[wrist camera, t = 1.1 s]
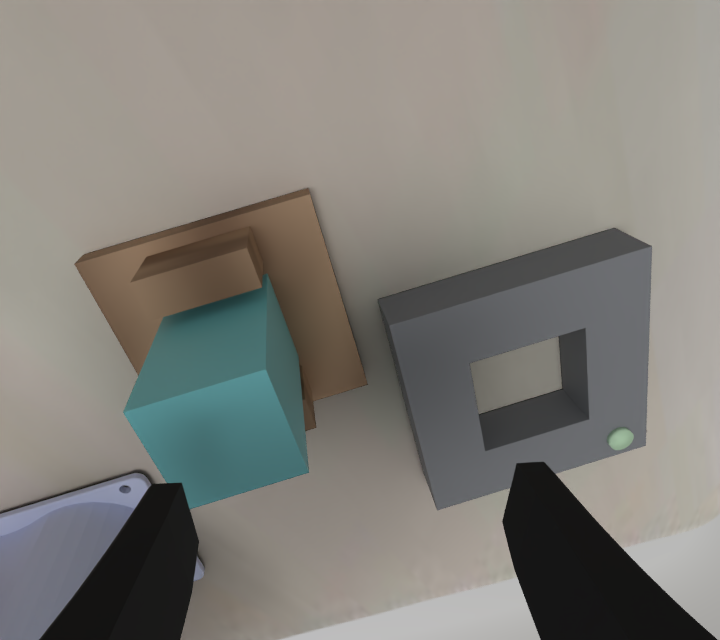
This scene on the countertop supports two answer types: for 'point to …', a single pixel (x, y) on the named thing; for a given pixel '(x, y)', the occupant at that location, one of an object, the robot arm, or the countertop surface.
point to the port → (515, 330)
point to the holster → (234, 285)
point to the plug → (222, 398)
